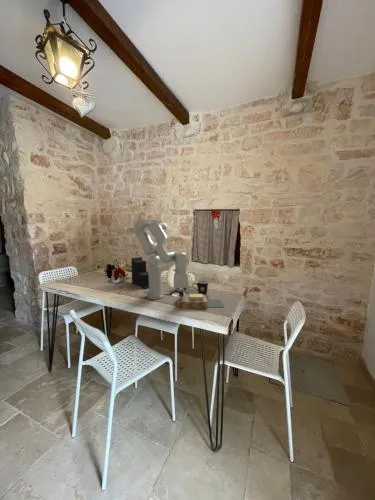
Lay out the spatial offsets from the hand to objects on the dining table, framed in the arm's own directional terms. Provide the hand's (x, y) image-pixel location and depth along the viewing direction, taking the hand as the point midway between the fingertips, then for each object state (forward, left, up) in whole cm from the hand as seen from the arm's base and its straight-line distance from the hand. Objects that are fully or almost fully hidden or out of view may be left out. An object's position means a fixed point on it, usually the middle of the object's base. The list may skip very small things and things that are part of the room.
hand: (181, 296), depth 151 cm
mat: (+23, 0, -5) cm, 24 cm away
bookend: (-34, +45, -6) cm, 57 cm away
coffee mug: (+15, +20, -5) cm, 26 cm away
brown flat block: (+7, 0, -5) cm, 9 cm away
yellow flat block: (+10, 0, -1) cm, 10 cm away
